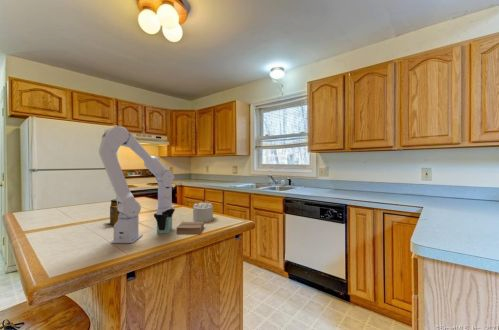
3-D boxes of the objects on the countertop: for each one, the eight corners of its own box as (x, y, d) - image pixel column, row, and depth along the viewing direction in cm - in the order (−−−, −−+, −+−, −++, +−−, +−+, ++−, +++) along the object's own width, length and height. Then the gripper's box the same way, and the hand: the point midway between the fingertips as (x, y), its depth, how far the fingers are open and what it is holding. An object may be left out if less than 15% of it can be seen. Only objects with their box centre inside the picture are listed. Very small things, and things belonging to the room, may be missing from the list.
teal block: (168, 233, 102) (168, 219, 102) (156, 233, 102) (156, 219, 102) (172, 230, 107) (172, 216, 107) (160, 230, 107) (161, 216, 107)
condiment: (126, 224, 116) (126, 199, 116) (107, 227, 111) (107, 201, 110) (122, 221, 122) (122, 198, 122) (103, 224, 116) (103, 199, 116)
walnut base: (199, 234, 102) (199, 227, 102) (176, 234, 102) (176, 227, 102) (203, 228, 112) (203, 221, 112) (182, 228, 112) (182, 221, 112)
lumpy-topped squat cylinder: (213, 216, 134) (213, 201, 134) (212, 222, 122) (212, 205, 121) (194, 217, 133) (194, 201, 133) (191, 223, 120) (191, 205, 120)
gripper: (168, 199, 98) (168, 232, 98) (178, 194, 112) (178, 223, 112) (151, 199, 97) (151, 232, 98) (163, 194, 112) (163, 223, 112)
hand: (164, 227), depth 105 cm, fingers open, 7 cm apart
